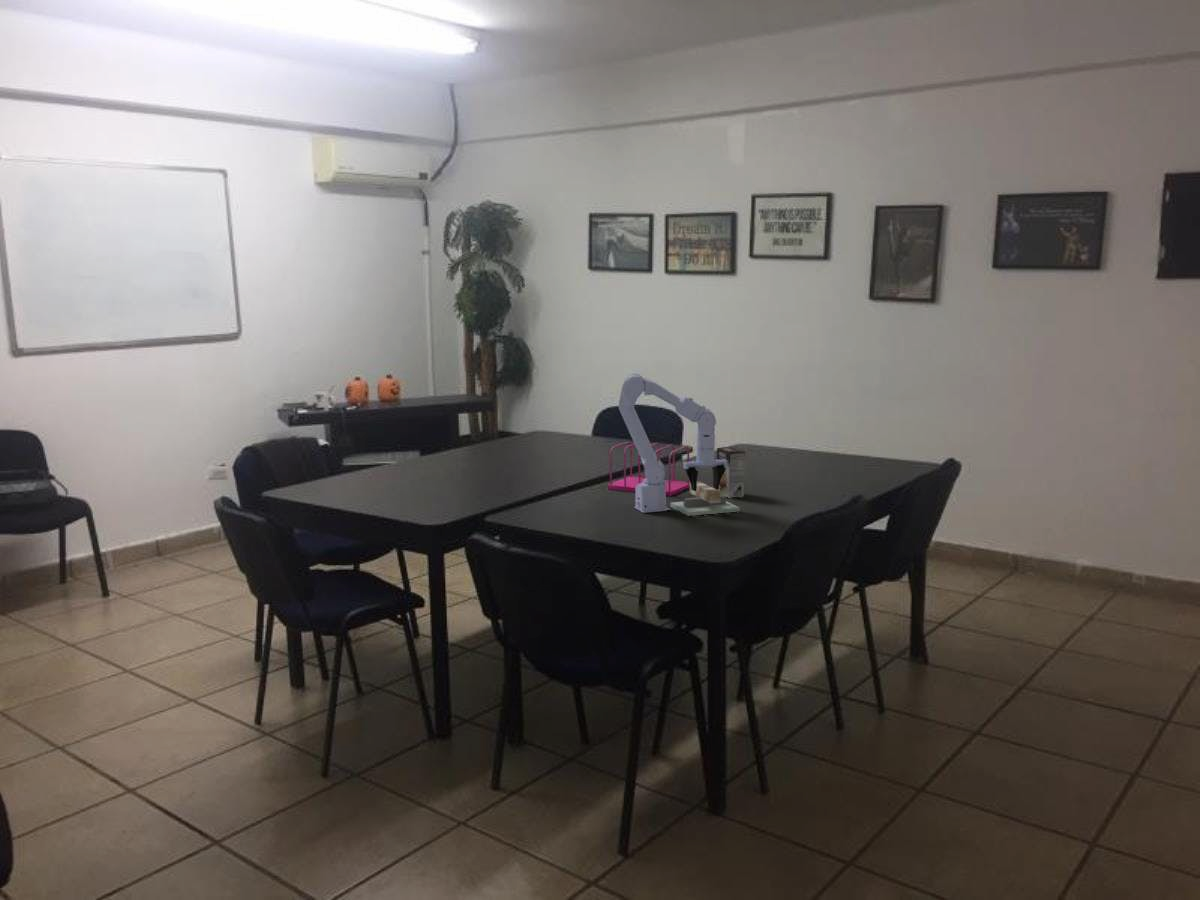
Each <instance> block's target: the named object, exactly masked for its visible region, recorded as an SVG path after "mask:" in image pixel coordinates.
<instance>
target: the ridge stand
mask: <svg viewBox="0 0 1200 900" xmlns="http://www.w3.org/2000/svg"><path fill="white" fill-rule="evenodd" d="M669 505H670V506H671V507H673V508H674V509H673V508H672V509H673V510H675V509H676V510H678V511H680V512H682V513H684V514H686V515H688V516H689V515H701V514H715V515H717V514H716V513H724V512H736V511H740V512H741V507H740V506H738V505H735V504H733V503H731V502H728V501H727V498H726V496H724V495H721V502H719V503H709V502H707V501H705V500H703V499H701V498H699V497H697V496H695V497H688V498H687V497H686V498H683V501H675V502H673V501H672V502H670V503H669ZM671 507H670V508H671ZM676 510H675V511H676ZM678 511H677V512H678ZM680 512H679V513H680ZM682 513H681V514H682ZM684 514H683V515H684Z"/></svg>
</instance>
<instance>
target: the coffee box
mask: <svg viewBox="0 0 1200 900" xmlns="http://www.w3.org/2000/svg"><path fill="white" fill-rule="evenodd" d="M723 459H725V460H727V466H724V467H725V468H726V470H725V472H724V474H723V476H722V478H721V480H720V483H719V487H718V489H717V490H719V491H721V495H724V496H726V497H728V498H729V499H732V498H731V497H741V498H743V497H742V496H744V497H745V472H746V471H745V469H746V467H745V465H746V451H745V450H742V449H739V448H738V447H737V448H736V447H734V446H728V447H727V446H725V447H724V446H723V447H722V446H721V447H717V448H716V460H723ZM728 498H727V499H728Z"/></svg>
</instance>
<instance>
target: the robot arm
mask: <svg viewBox="0 0 1200 900" xmlns="http://www.w3.org/2000/svg"><path fill="white" fill-rule="evenodd" d="M643 393H644V394H643ZM642 394H643V395H644V396H651V395H652V396H654V397H657V398H658V399H660V400H662V401H664V402H666V403H667V404H669V405H671V406H673V407H674V409H675V412H676V414H678V415H680V416H682V417H683V418H685V419H687V420H689V421H691V422H692V423H696V424H697V433H696V460H692V461H690V460H689V462H687V461H683V464H682V465H683V467H682V468H683V469H685V470H684V471H685V474H686V476H687V475H688V477H689V483H691V487H692V490H693V491H696V490H697V482H698V475H699V471H698V470H697V469H699V468H700V469H701V468H702V469H703V468H712V474H713V476H712V477H713V480H712V483H713V484H712V488H714V489H718V487H719V483H720V480H721V478H722V476H723V474H724V472H725V470H726V468H725V467H724V466H727V460H725V459H723V460H717V459H715V450H716V449H715V447H716V434H715V429H716V428H715V427H716V425H717V420H716V416H715V414H714V413H713V411H712V410H710V409H709V408H707V407H706V406H704V405H700V404H698V403H697V402H695V401H694V398H692V397H691V396H689V397H686V396H683V397H678V396H677V395H675V394H674V393H673V392H671V391H669V390H668V389H666V388H665V387H663V386H661V385H660V384H658V383H657V382H655V381H653V380H651V379H649V378H646V377H643V376H642V375H641V374H638V373H632V374H629V375H628V376H627V377H626V378H625V380H624V382H623V384H622V386H621V391H620V396H619V400H618V406H617V407H618V410H619V412H620V415H621V416H622V419H623V421H624V424H625V425H626V429H627V430H628V433H629V434H630V437H631V438H632V441H633V444H635V446H634V447H636V448H635V449H636V450H637V452H638V455H640V461H641V462H642V465H643V469H644V468H645V477H646V478H645V479H644V481H643V483H640V484H637V485H636V489H635V492H634V493H635V497H634V498H635V506H634V509H636V510H638V511H640V512H641V513H643V514H645V513H646V514H647V513H656V512H666V511H667V510H670V511H671V508H670V507H668V506H667V505H666V503H667V501H666V499H667V498H666V497H667V496H666V480H667V479H665V476H666V473H665V472H666V471H665V465H664V463H663V462H662V461H661V459H660V460H659V459H658V457H657V454H655V451H654V449H653V446H651V445H652V444H651V442H650V440H649V437H648V436H647V433H646V431H645V429H644V426H643V424H642V422H641V419H640V418H639V417H640V416H639V415H638V413H637V411H636V409H635V405H636V403H637V401H638V399H639V398H640V396H641V395H642ZM667 512H668V511H667Z"/></svg>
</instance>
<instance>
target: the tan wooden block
mask: <svg viewBox="0 0 1200 900" xmlns="http://www.w3.org/2000/svg"><path fill="white" fill-rule="evenodd" d="M689 483H690V482H689ZM689 494H691V495H694V496H695V497H699V498H701V499H703V500H705V501H707V502H709V503H719V502H721V491H719V490H717V489H715V488H714V487H713V486H710V485H708V484H706V483H703V482H702V481H697V490H696V491H693V490H692V487H691V483H690V488H689Z"/></svg>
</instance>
